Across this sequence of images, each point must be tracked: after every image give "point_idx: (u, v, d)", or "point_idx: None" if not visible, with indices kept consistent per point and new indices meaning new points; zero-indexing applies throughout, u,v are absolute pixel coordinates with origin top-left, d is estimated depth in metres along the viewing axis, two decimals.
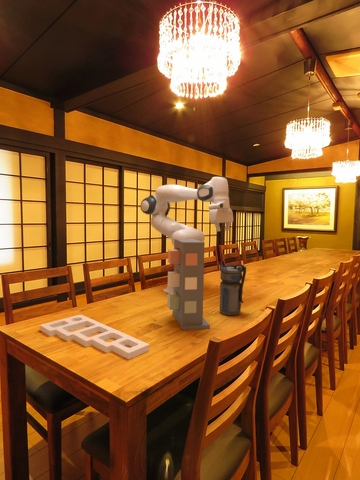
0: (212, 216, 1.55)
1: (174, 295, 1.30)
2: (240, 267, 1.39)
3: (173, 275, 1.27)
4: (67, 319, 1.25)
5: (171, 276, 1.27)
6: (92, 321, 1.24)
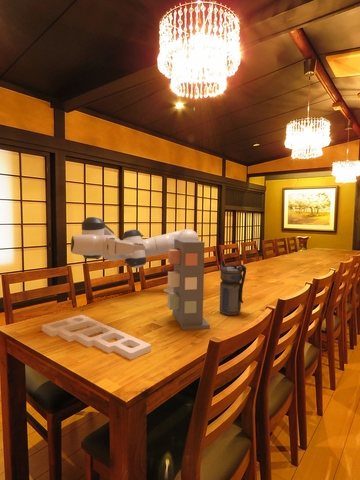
0: (125, 249, 1.16)
1: (174, 295, 1.30)
2: (240, 267, 1.39)
3: (173, 275, 1.27)
4: (68, 319, 1.25)
5: (171, 276, 1.27)
6: (94, 321, 1.23)
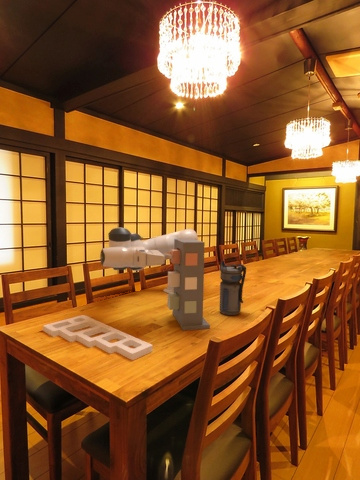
0: (156, 261, 1.17)
1: (174, 295, 1.30)
2: (240, 267, 1.39)
3: (173, 275, 1.27)
4: (70, 319, 1.25)
5: (171, 276, 1.27)
6: (95, 322, 1.23)
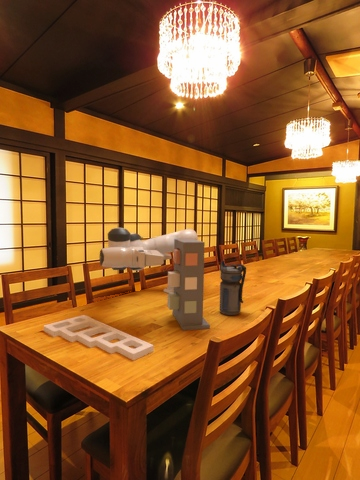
0: (155, 261, 1.17)
1: (174, 295, 1.30)
2: (240, 267, 1.39)
3: (173, 275, 1.27)
4: (70, 319, 1.25)
5: (171, 276, 1.27)
6: (95, 322, 1.23)
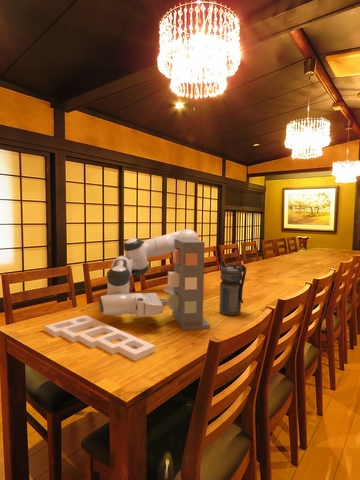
0: (154, 310, 1.19)
1: (175, 295, 1.30)
2: (240, 267, 1.39)
3: (173, 275, 1.27)
4: (72, 320, 1.25)
5: (171, 276, 1.27)
6: (97, 322, 1.23)
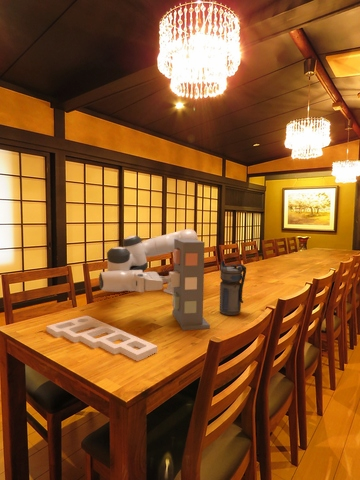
0: (154, 286, 1.18)
1: None
2: (240, 267, 1.39)
3: (174, 275, 1.27)
4: (73, 320, 1.24)
5: (172, 276, 1.27)
6: (99, 322, 1.23)
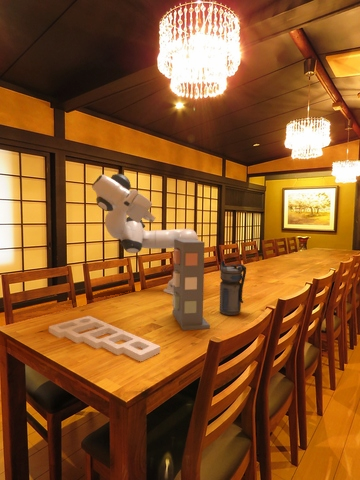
0: (143, 202, 1.20)
1: None
2: (240, 267, 1.39)
3: (178, 275, 1.27)
4: (75, 320, 1.24)
5: (176, 276, 1.27)
6: (101, 322, 1.22)
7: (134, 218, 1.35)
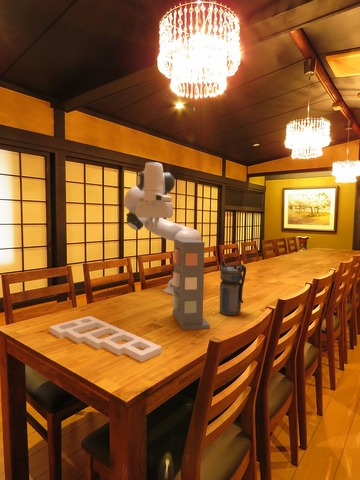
0: (169, 210, 1.30)
1: None
2: (240, 267, 1.39)
3: (178, 275, 1.27)
4: (76, 320, 1.24)
5: (176, 276, 1.27)
6: (102, 323, 1.22)
7: (140, 211, 1.39)
